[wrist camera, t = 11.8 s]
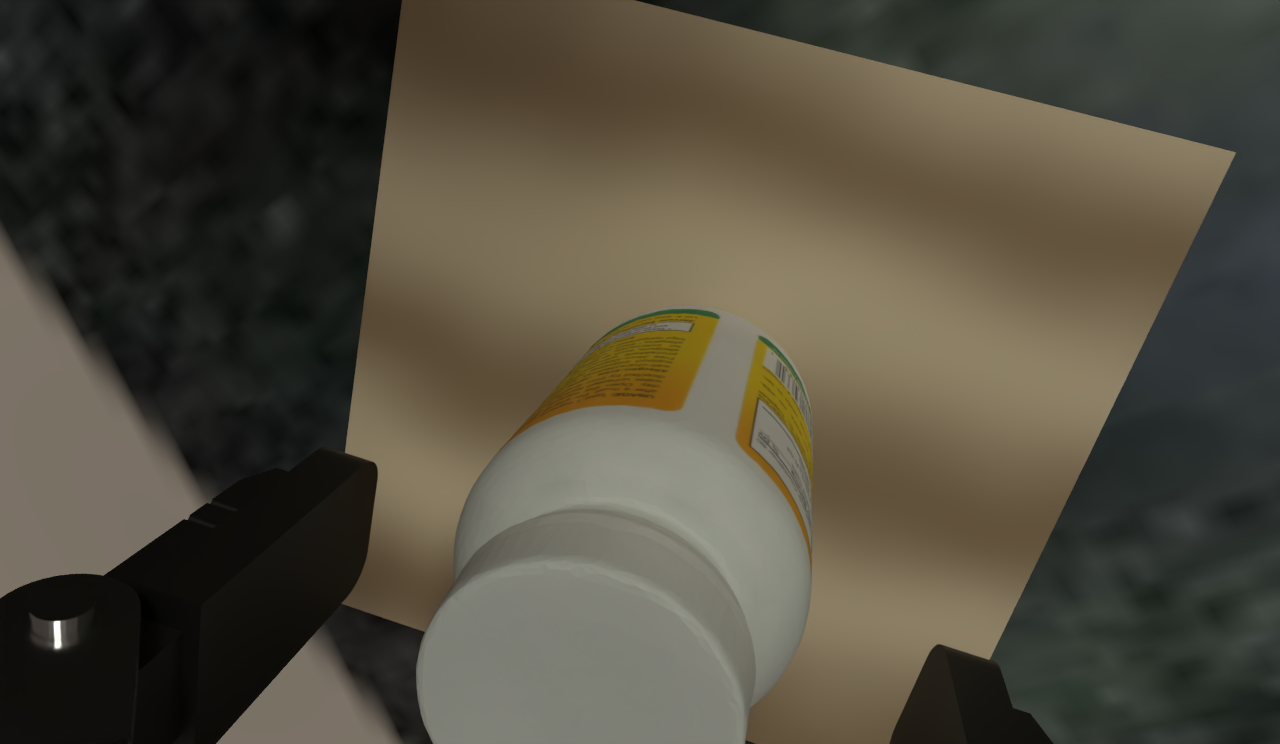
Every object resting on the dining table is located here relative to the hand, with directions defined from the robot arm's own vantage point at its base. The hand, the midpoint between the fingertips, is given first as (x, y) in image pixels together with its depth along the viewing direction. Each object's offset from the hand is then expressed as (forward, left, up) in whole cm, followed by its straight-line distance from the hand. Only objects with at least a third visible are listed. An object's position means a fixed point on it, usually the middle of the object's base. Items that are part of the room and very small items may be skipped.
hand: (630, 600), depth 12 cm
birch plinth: (0, 0, -10) cm, 10 cm away
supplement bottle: (0, 0, -8) cm, 8 cm away
